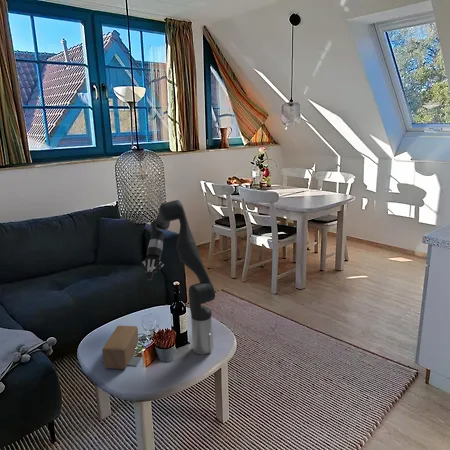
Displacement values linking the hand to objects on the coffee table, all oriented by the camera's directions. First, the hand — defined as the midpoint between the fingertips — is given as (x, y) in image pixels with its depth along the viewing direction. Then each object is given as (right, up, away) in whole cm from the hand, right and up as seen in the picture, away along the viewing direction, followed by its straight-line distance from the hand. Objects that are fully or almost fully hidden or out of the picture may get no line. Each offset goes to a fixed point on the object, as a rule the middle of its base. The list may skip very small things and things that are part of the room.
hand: (148, 279), depth 204 cm
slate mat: (-7, -32, -21) cm, 39 cm away
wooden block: (-7, -24, -14) cm, 29 cm away
